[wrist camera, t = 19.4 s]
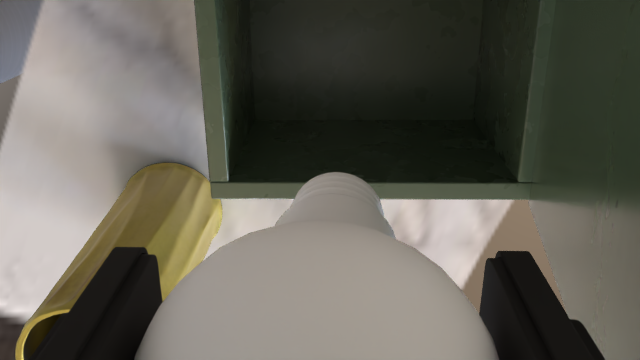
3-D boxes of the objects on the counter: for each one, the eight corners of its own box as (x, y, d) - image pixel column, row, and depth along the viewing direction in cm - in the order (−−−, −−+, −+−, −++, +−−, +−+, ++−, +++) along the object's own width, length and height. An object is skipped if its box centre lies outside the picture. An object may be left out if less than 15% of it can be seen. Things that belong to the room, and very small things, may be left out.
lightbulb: (475, 252, 18) (621, 695, 7) (288, 316, 19) (199, 763, 9) (398, 62, 16) (455, 314, 5) (196, 148, 17) (-58, 478, 7)
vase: (120, 242, 38) (3, 411, 24) (125, 152, 35) (-1, 285, 22) (216, 259, 38) (152, 435, 25) (228, 170, 36) (164, 312, 22)
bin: (244, 129, 34) (210, 199, 25) (230, -93, 30) (184, -103, 21) (482, 128, 34) (534, 200, 25) (504, -96, 30) (577, -108, 21)
